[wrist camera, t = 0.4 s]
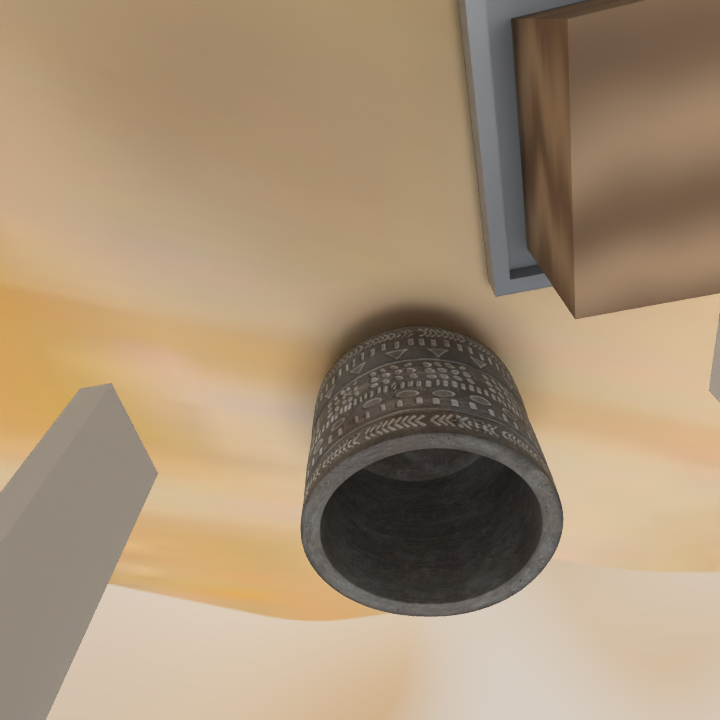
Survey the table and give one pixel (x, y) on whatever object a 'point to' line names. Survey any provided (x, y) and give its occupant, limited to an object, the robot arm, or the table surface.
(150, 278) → the table surface
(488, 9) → the grey divided tray
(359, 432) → the planter
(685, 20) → the walnut block
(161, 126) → the table surface
